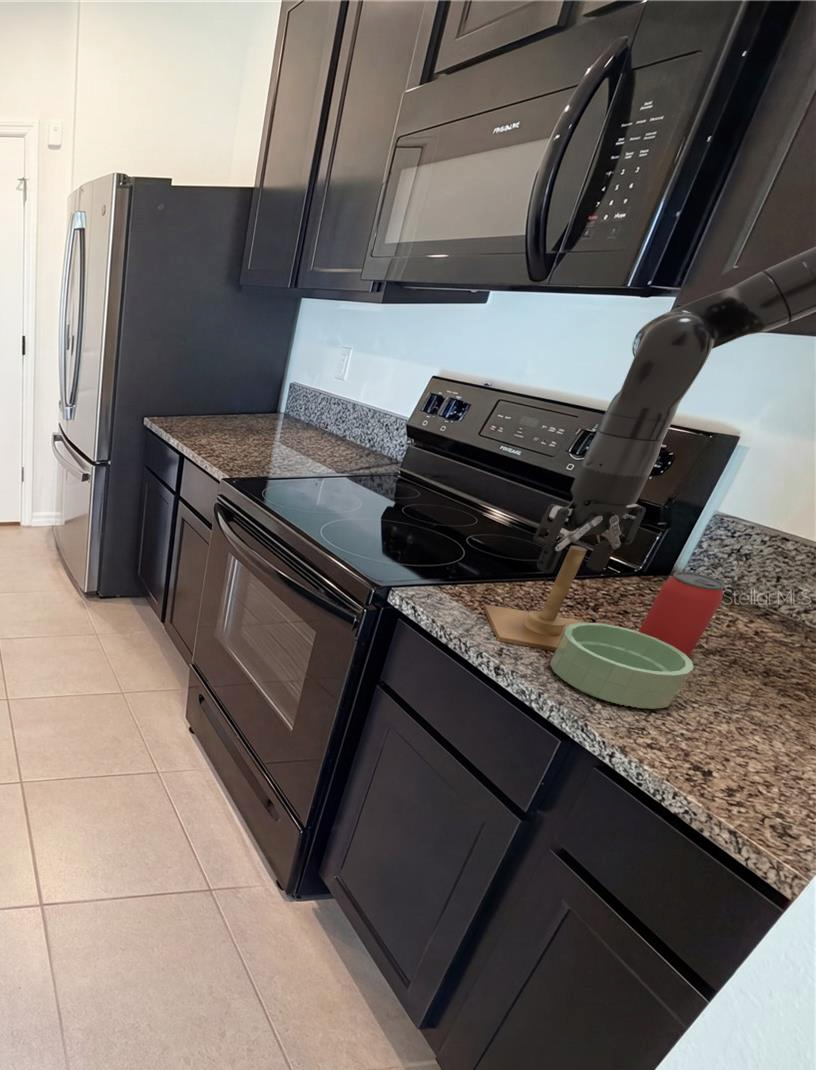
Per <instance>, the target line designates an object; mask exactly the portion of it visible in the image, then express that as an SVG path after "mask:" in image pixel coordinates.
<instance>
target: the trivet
mask: <svg viewBox="0 0 816 1070" xmlns="http://www.w3.org/2000/svg"><path fill="white" fill-rule="evenodd" d="M482 609H483V611H484V613H485V616H486V618H487V620H488V623H489V624H490V627H491V630H492V632H493V634H494V636H495V637H496V639H497V641H498V642H501V643H508V644H513V645H518V646H522V647H523V646H524V647H528V648H534V649H538V650H539V649H540V650H545V651H551V652H554V651H555V649H556V647H557V645H558V643H559V641H560V639H561V636H562V634H563V632H564V630H565V628H566V627H567V626H569V625H571V624H575V623H583V622H585V621H584V620H580V619H574V618H568V617H562V616H560V617H561V618H563V619H564V620H565V621H566V624H565V626H564V628H563V631H562V633H561V634H560V635H559V636H547V635H542V634H539V633H536V632H533V631H531V630H530V629H528V628H527V627H526V626H525V624H524V623H525V621H526V619H527V617H528V614H529V612H530V611H527V610H522V609H517V608H510V607H503V606H497V605H492V604H487V603H484V604H483V606H482Z"/></svg>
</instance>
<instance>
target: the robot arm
mask: <svg viewBox="0 0 816 1070" xmlns="http://www.w3.org/2000/svg"><path fill="white" fill-rule="evenodd" d="M815 312H816V246H813V247H811V248H809V249H807V250H805V251H802V252H800V253H797V254H796V255H793V256H791V257H789V258H787V259H785V260H783V261H781V262H778V263H776V264H774V265H771V266H770V267H768V268H765V269H764V270H762V271H759V272H757V273H755V274H753V275H751V276H749V277H747V278H746V279H743V280H742V281H740V282H737V283H736V284H734V285H731V286H729V287H727V288H723V289H722V290H720V291H717V292H713V293H711V294H709V295H707V296H703V297H701V298H699V299H696V300H694V301H691V302H688V303H686V304H683V305H682V306H678V307H677V308H674V309H673V310H672V309H671V310H669V311H667V312H665V313H663V314H661V315H659V316H657V317H655V318H653V319H652V320H651V319H650V321H649V322H647V323H646V324H644V325H643V326H642V327H641V328H640V329H639V330H638V332H636V334H635V336H634V338H633V341H632V343H631V354H632V356H633V359H632V362H631V364H630V367H629V369H628V372H627V373H626V376H625V379H624V381H623V383H622V386H621V388H620V390H619V391H618V392H616V394H615V395H614V396H613V398H612V399H611V401H610V402H609V404H608V406H607V408H606V411H605V413H604V416H603V418H602V420H601V423H600V425H599V427H598V430H597V432H596V434H595V435H594V437H593V438H592V440H591V442H590V443H589V445H588V448H587V450H586V452H585V454H584V457H583V460H582V462H581V464H580V465H579V466H580V467H579V469H578V470H577V473H576V475H575V478H574V480H573V483H572V485H571V488H570V493H571V495H572V500H571V502H570V503H569V504H568V505H567V506H560V505H558V504H555V503H551V504H549V505H548V507H547V508H546V510H545V513H544V514H543V517H542V519H541V521H540V523H539V525H538V527H537V529H536V531H535V534H534V536H533V542H535V543H537V544H540V545H541V546H542V550H541V552H540V555H539V556H538V560H537V561H536V568H537V570H539V571H541V572H543V573H544V574H552V573H553V572H554V571H555V568H556V567H557V564H558V562H559V559H560V557H561V555H562V552H563V551H562V550H563V549H564V548H566V547H567V546H568V545H569V544H571V542H576V541H578V540H579V539H580V538H581V537H587V536H591V535H594V536H595V537H596V539H597V542H598V544H597V543H595V545H594V547H593V549H592V551H591V554H590V555H589V557H588V560H587V562H586V565H585V566H586V567H587V568H588V569H590V570H593V571H595V572H603V571H604V570H605V568H606V566H607V565H608V563H609V561H610V559H611V557H612V555H613V553H614V551H615V550H617V549H619V548H620V547H621V546H622V545H625V546H628V545H629V546H630V544H632V543H633V542H634V540H635V538H636V537H635V536H636V535H637V532H638V530H639V527H640V525H641V523H642V521H643V518H644V515H645V514H646V512H647V508H646V507H645V506H641V505H639V504H638V503H637V502H638V499H639V497H640V495H641V493H642V491H643V489H644V488H645V485H646V483H647V481H648V478H649V477H650V474H651V472H652V470H653V468H654V466H655V464H656V462H657V460H658V457H659V454H660V451H661V447H662V444H663V442H664V439H665V437H666V435H667V433H668V432H669V429H670V427H671V425H672V424H673V421H674V418H675V416H676V414H677V411H678V409H679V406H680V403H681V402H682V400H683V398H685V396H686V394H687V393H688V392H689V390H690V388H691V387H692V385H693V384H694V382H695V381H696V379H697V378H698V376H699V374H700V373H701V371H702V370H703V368H704V367H705V364H706V363H707V360H708V359H709V356H710V354H711V352H712V350H713V349H716V348H719V347H721V346H724V345H725V344H728V343H731V342H733V341H735V340H737V339H740V338H743V337H746V336H749V335H756V334H761V333H765V332H769V331H771V330H775V329H777V328H780V327H783V326H784V325H787V324H788V323H791V322H794V321H796V320H799V319H802V318H803V317H806V316H809V315H811V314H813V313H815ZM566 528H568V529H566ZM624 529H626V531H625V534H623V532H624ZM548 531H549V532H548ZM547 532H548V535H547V536H546V534H547ZM560 537H562V538H560ZM559 538H560V539H559ZM558 539H559V540H558ZM557 540H558V541H557Z"/></svg>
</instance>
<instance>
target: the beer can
mask: <svg viewBox="0 0 816 1070" xmlns="http://www.w3.org/2000/svg"><path fill="white" fill-rule="evenodd" d="M725 586H726V585H725V584H724V582H722V581H720V580H719V579H717V578H714V577H712V576H708V575H705V574H702V573H697V572H691V571H676V572H673V574H672V576H671V577H669V578H668V579H667V580H666V581H665V582H664V583H662V586H661V588H660V589H659V592H658V593H657V594H656V597H655V599H654V600H653V602H652V604H651V606H650V607H649V610H648V611H647V613H646V615H645V617H644V620H643V621H642V624H641V625H640V627H639V629H638V632H641V633H643V634H646V635H649V636H652V637H655V638H657V639H659V640H661V641H663V642H665V643H667V644H670V645H672V646H673V647H675V648H677V649H678V650H680V651H681V652H683V653H684V654H686V656H687V657H689V656H691V655H692V653H693V652H694V649H696V646H697V645H698V644H699V641H700V639H701V638H702V636H703V634H704V633H705V631H706V629H707V627H708V626H709V624H710V622H711V620H712V619H713V617H714V616H715V614H716V612H717V610H718V609H719V607H720V605H721V604H722V601H723V597H724V589H725Z"/></svg>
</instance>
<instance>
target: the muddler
mask: <svg viewBox="0 0 816 1070" xmlns="http://www.w3.org/2000/svg"><path fill="white" fill-rule="evenodd" d="M587 551H588V549H587V548H585V547H583V546H580V545H570V546H569V549H568V551H567V553H566V555H565V558H564V560H563V562H562V564H561V567H560V569H559V571H558V573H557V575H556V578H555V580H554V582H553V585H552V587H551V589H550V591H549V594H548V596H547V598H546V600H545V602H544V604H543V607H542V610H530V611H528V612H529V614H528V617H527V619H526V621H525V623H524V624H525V626H526V627H527V628H528V629H530V630H531V631H533V632H536V633H539V634H542V635H547V636H559V635H560V634H561V633H562V631H563V628H564V626H565V624H566V621H565V620H564V619H563V618H564V617H563V618H561V617H562V616H559V612H560V611H561V608H562V606H563V604H564V602H565V599H566V597H567V595H568V592H569V591H570V589H571V587H572V584H573V582H574V580H575V577H576V575H577V573H578V571H579V569H580V567H581V565H582V563H583V560H584V558H585V556H586V553H587Z"/></svg>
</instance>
